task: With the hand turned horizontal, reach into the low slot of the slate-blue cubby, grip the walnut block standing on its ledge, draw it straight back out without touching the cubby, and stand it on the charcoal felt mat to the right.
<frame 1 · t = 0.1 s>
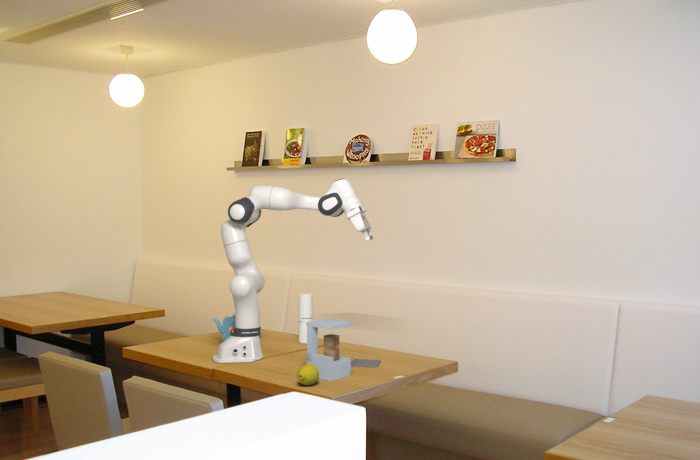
hand: (370, 239, 274), 54 cm above the table, tool tilted 30°, fingers open, 8 cm apart
cubby: (331, 374, 253), on the table
lemon: (307, 385, 237), on the table
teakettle: (235, 344, 318), on the table
felt mat: (365, 363, 274), on the table
walnut block: (331, 360, 253), point 6 cm above the table, touching cubby
cylindrical container: (305, 342, 324), on the table
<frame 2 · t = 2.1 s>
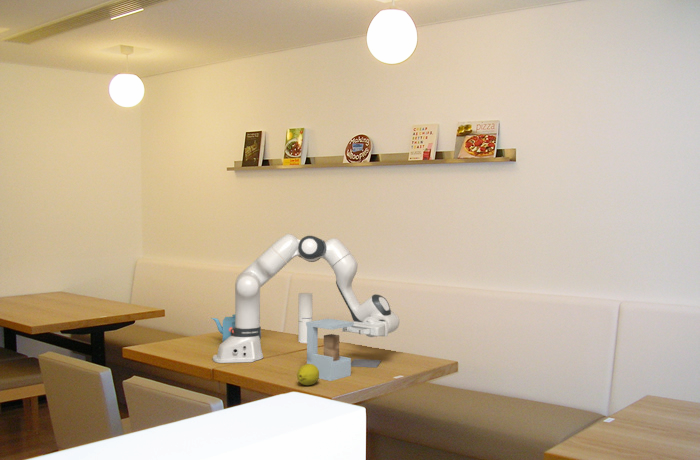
hand: (351, 330, 262), 16 cm above the table, tool horizontal, fingers open, 8 cm apart
nothing on the table moved.
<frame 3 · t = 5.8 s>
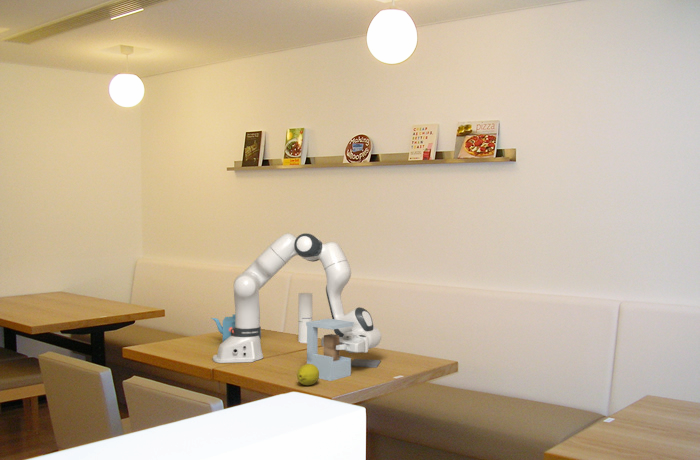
hand: (330, 346, 253), 12 cm above the table, tool horizontal, fingers closed on walnut block, 4 cm apart
walnut block: (331, 360, 253), point 6 cm above the table, touching cubby, gripper
everything else where it was.
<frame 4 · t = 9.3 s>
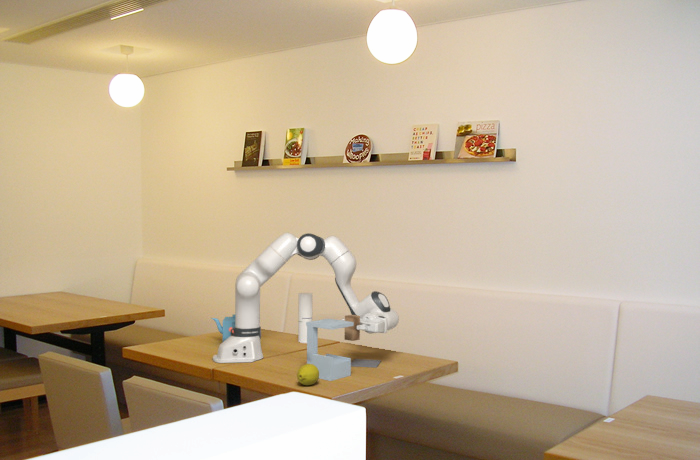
hand: (350, 326, 262), 18 cm above the table, tool horizontal, fingers closed on walnut block, 4 cm apart
walnut block: (352, 339, 263), point 13 cm above the table, touching gripper
everything else where it was.
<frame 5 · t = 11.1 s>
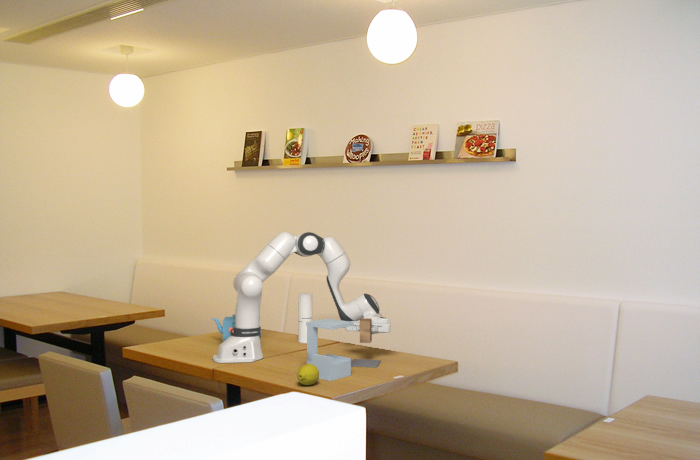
hand: (365, 329, 273), 15 cm above the table, tool horizontal, fingers closed on walnut block, 4 cm apart
walnut block: (365, 341, 274), point 10 cm above the table, touching gripper
everything else where it was.
when the fingers open (8 cm above the table, at t = 12.7 s): walnut block drops 1 cm, resting on felt mat.
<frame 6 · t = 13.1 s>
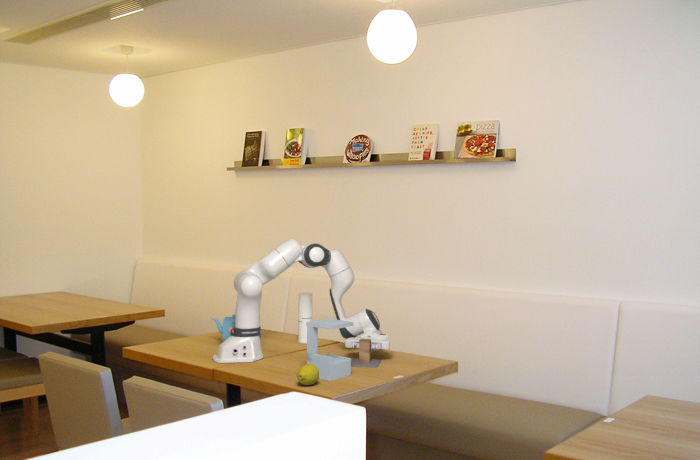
hand: (365, 346, 273), 8 cm above the table, tool horizontal, fingers open, 8 cm apart
walnut block: (365, 362, 274), point 1 cm above the table, touching felt mat
everything else where it was.
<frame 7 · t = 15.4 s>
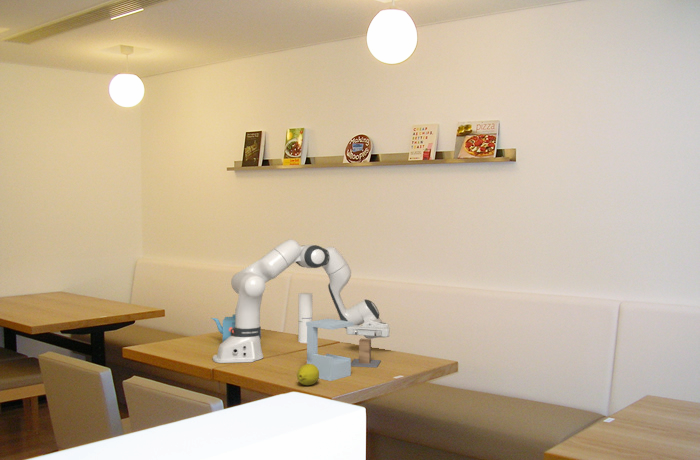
hand: (365, 333, 285), 11 cm above the table, tool horizontal, fingers open, 8 cm apart
nothing on the table moved.
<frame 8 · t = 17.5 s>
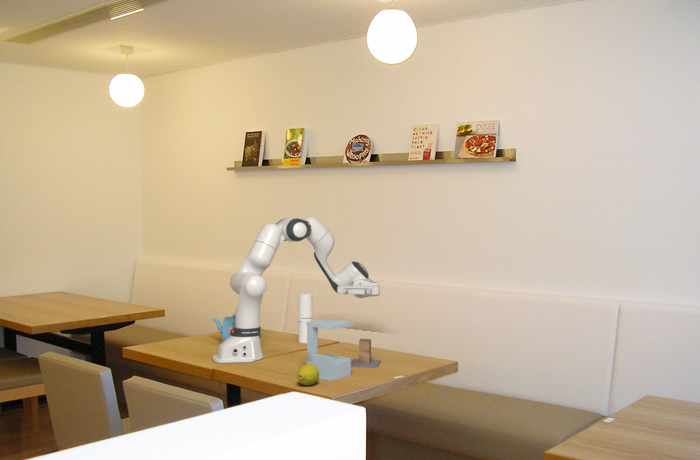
hand: (356, 291, 287), 30 cm above the table, tool horizontal, fingers open, 8 cm apart
nothing on the table moved.
at the end: walnut block inside the target area on the felt mat (0.1 cm from its centre), point 0.6 cm above the felt mat's base; walnut block tilted 0°; the gripper is holding nothing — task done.
